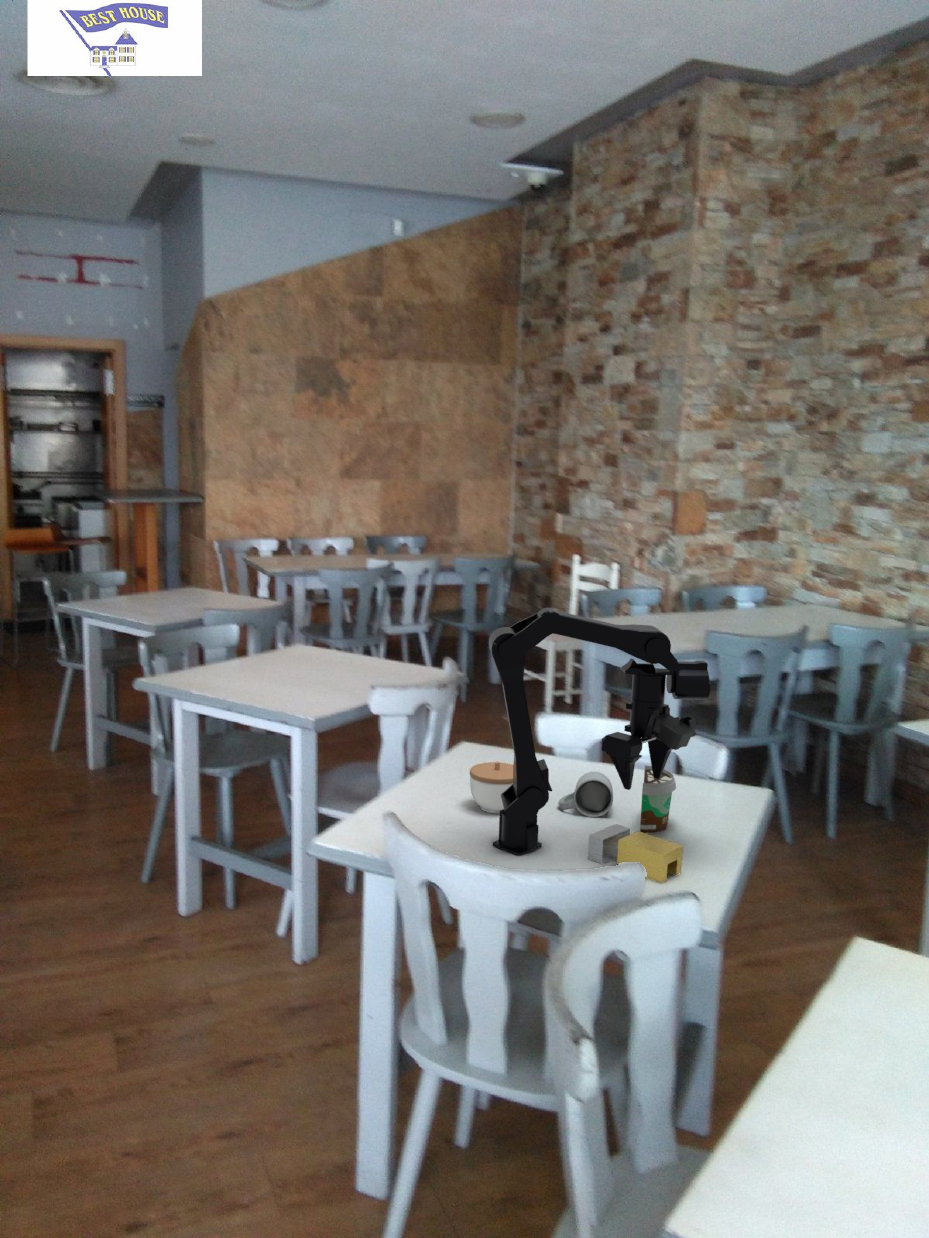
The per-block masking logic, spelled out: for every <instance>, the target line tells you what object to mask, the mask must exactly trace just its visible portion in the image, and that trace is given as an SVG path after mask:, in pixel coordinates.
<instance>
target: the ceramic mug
mask: <svg viewBox="0 0 929 1238" xmlns="http://www.w3.org/2000/svg"><path fill="white" fill-rule="evenodd" d="M613 791H614V789H613V785H612V782H611V780H610V778H609V777H608V776H606V775H605V774H604V773H602V772H600V771H589V772H586V773H584V774H583V775H581V776H580V777H579V779H578V780H577V782H576V785H575V789H574V791H573V792H571V793H568V794H566V795H564V796H562V797H560V798H559V800H558V802H557V804H558V806H559V808H560V810H562V811H566V810H571V809H575V808H576V810H577V811H578V812H579V813H580V814H582V815H584V816H585V817H589V818H598V817H602V816H604V815H605V814H607V813H608V812H609V810H611V808H612V806H613V802H614V792H613Z"/></svg>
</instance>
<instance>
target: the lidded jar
mask: <svg viewBox="0 0 929 1238" xmlns="http://www.w3.org/2000/svg"><path fill="white" fill-rule="evenodd" d="M513 765H514V764H512V763H506V762H500V761H491V762H482V763H478V764H475V765H472V766H471V767H470V769H469V776H470V777H469V784H470V785H469V787H470V793H471V795H472V796H471V797H472V799H473V800H474V802H475V803H476V804H477V805H478V806H479V808H480V810H481V811H482V812H485V811H486V813H490V814H500V810H503V809H504V807H503V803H502V799H501V794H502V793H503V792H504V791H505V790H506V789H507V788H509V787H510V786H511V785H512V784H513Z"/></svg>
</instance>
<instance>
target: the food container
mask: <svg viewBox="0 0 929 1238" xmlns="http://www.w3.org/2000/svg"><path fill="white" fill-rule="evenodd" d="M643 774H644V776H643V782H642V789H641V792H642V793H641V808H640V812H641V813H640V823H639V824H640V826H639V831H640V832H643V833H646V834H657V833H661V832H663V831H666V830H667V828H668V824H669V823H668V822H669V817H670V811H671V803H672V802H671V801H672V796H673V795H672V794H673V792H674V791H675V790H676V789H677V783H676V779H675V776H674V774H673V773H672V772H671V771H669V770H667V769H665V768H664V770H663V772H662V775H661V777H660V779H656V778H654V776H653V771H652V766H651V765H647V764H646V765H644V773H643Z"/></svg>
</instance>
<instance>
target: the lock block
mask: <svg viewBox="0 0 929 1238" xmlns="http://www.w3.org/2000/svg"><path fill="white" fill-rule="evenodd" d="M683 848H684V845H681V844H678V843H675V842H672V841H670V840H667V839H663V838H662V837H661V838H660V837H657V836H654V835H651V834H650V833H643V832H640V830H638V831H636V832H633V833H632V834H631V833H630V835H628V836H626V837H624V838H621V839H619V840H618V855H617V861H616V865H617V864H619V863H622V862H640V864H642V865H643V866H644V867H645V869H646V872H647V879H649V880H651V879H653V880H652V881H654V880H655V882H657V883H659V884H663V883H664V882H667V879H668V877H667V876H668V874H670V873H671V874H670V875H673V874H674V875H673V876H675V875H677V876H679V875H680V874H679V873H681V874H682V867H683V866H682V865H683V853H684V851H683V850H684V849H683ZM678 874H679V875H678Z"/></svg>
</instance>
